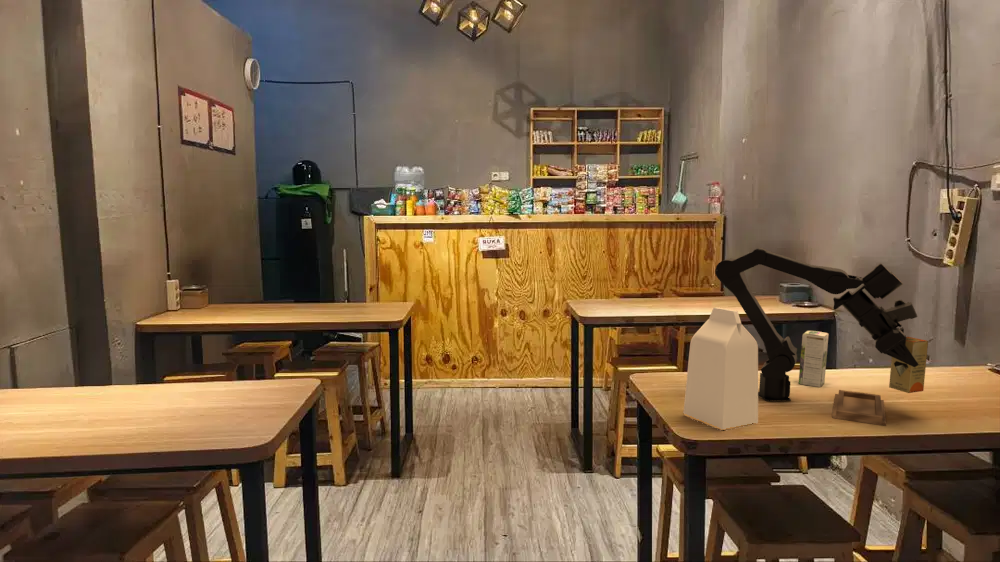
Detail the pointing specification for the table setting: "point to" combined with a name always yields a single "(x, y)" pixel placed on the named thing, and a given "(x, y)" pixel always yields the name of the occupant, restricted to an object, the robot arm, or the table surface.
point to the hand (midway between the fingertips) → (915, 362)
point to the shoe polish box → (910, 368)
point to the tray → (859, 407)
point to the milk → (722, 372)
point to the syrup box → (813, 358)
